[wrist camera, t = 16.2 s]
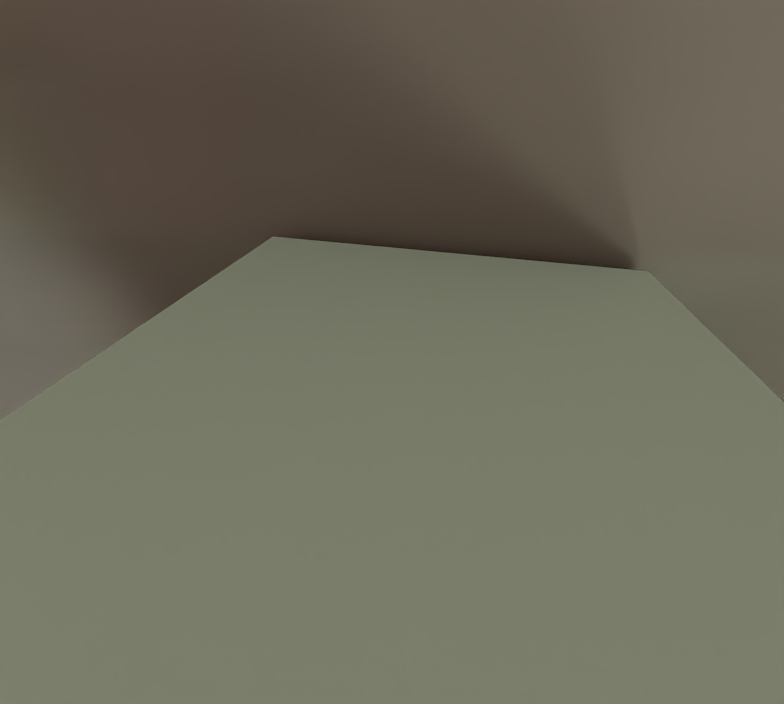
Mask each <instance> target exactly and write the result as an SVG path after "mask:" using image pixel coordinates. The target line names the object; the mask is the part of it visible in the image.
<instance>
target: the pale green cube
mask: <svg viewBox="0 0 784 704" xmlns="http://www.w3.org/2000/svg"><path fill="white" fill-rule="evenodd" d="M0 704H784V402H783V401H782V400H781V399H780V398H779V397H778V396H777V395H776V394H775V393H774V392H773V391H772V390H771V389H770V388H769V387H768V386H767V385H766V384H765V383H764V382H763V381H761V380H760V379H759V378H758V377H757V376H756V375H755V374H754V373H753V372H752V371H751V370H750V369H749V368H748V367H747V366H746V365H745V364H744V363H743V362H742V361H741V360H740V359H739V358H738V357H737V356H736V355H735V354H734V353H732V352H731V351H730V350H729V349H728V348H727V347H726V346H725V345H724V344H723V343H722V342H721V341H720V340H719V339H718V338H717V337H716V336H715V335H714V334H713V333H712V332H711V331H710V330H709V329H708V328H707V327H706V326H705V325H704V324H702V323H701V322H700V321H699V320H698V319H697V318H696V317H695V316H694V315H693V314H692V313H691V312H690V311H689V310H688V309H687V308H686V307H685V306H684V305H683V304H682V303H681V302H680V301H679V300H678V299H677V298H676V297H675V296H673V295H672V294H671V293H670V292H669V291H668V290H667V289H666V288H665V287H664V286H663V285H662V284H661V283H660V282H659V281H658V280H657V279H656V278H655V277H654V276H653V275H652V274H651V273H650V272H649V271H640V270H629V269H618V268H607V267H597V266H586V265H575V264H564V263H553V262H543V261H532V260H521V259H510V258H499V257H489V256H478V255H467V254H456V253H445V252H435V251H424V250H413V249H402V248H391V247H381V246H370V245H359V244H348V243H337V242H327V241H316V240H305V239H294V238H284V237H272V238H270V239H269V240H267V241H266V242H264V243H263V244H261V245H260V246H258V247H257V248H255V249H254V250H252V251H251V252H249V253H248V254H246V255H245V256H243V257H242V258H240V259H239V260H237V261H236V262H234V263H233V264H231V265H230V266H228V267H227V268H225V269H224V270H223V271H221V272H220V273H218V274H217V275H215V276H214V277H212V278H211V279H209V280H208V281H206V282H205V283H203V284H202V285H200V286H199V287H197V288H196V289H194V290H193V291H191V292H190V293H188V294H187V295H185V296H184V297H182V298H181V299H179V300H178V301H176V302H175V303H173V304H172V305H170V306H169V307H168V308H166V309H165V310H163V311H162V312H160V313H159V314H157V315H156V316H154V317H153V318H151V319H150V320H148V321H147V322H145V323H144V324H142V325H141V326H139V327H138V328H136V329H135V330H133V331H132V332H130V333H129V334H127V335H126V336H124V337H123V338H121V339H120V340H118V341H117V342H115V343H114V344H113V345H111V346H110V347H108V348H107V349H105V350H104V351H102V352H101V353H99V354H98V355H96V356H95V357H93V358H92V359H90V360H89V361H87V362H86V363H84V364H83V365H81V366H80V367H78V368H77V369H75V370H74V371H72V372H71V373H69V374H68V375H66V376H65V377H63V378H62V379H60V380H59V381H58V382H56V383H55V384H53V385H52V386H50V387H49V388H47V389H46V390H44V391H43V392H41V393H40V394H38V395H37V396H35V397H34V398H32V399H31V400H29V401H28V402H26V403H25V404H23V405H22V406H20V407H19V408H17V409H16V410H14V411H13V412H11V413H10V414H8V415H7V416H6V417H4V418H3V419H1V420H0Z"/></svg>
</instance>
